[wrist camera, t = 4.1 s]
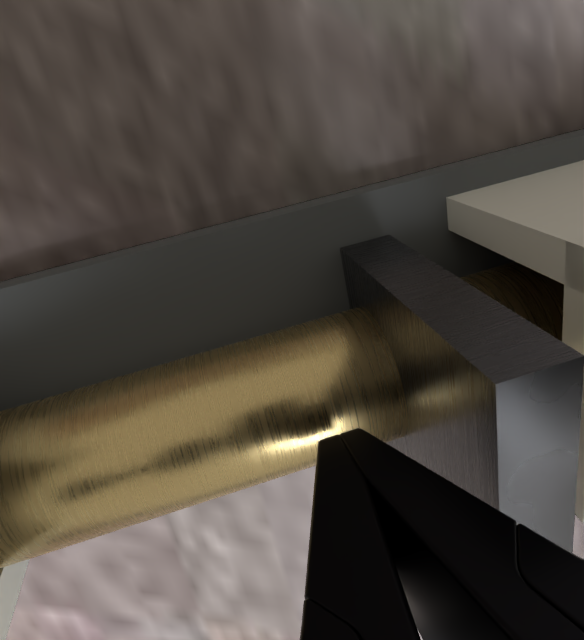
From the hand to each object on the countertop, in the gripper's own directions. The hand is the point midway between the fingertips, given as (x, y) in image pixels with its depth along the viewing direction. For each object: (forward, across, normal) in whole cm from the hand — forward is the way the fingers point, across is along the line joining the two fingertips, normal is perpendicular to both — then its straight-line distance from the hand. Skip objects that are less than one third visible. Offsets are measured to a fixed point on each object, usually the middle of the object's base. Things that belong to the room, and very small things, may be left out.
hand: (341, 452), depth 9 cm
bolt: (+4, +1, 0) cm, 4 cm away
